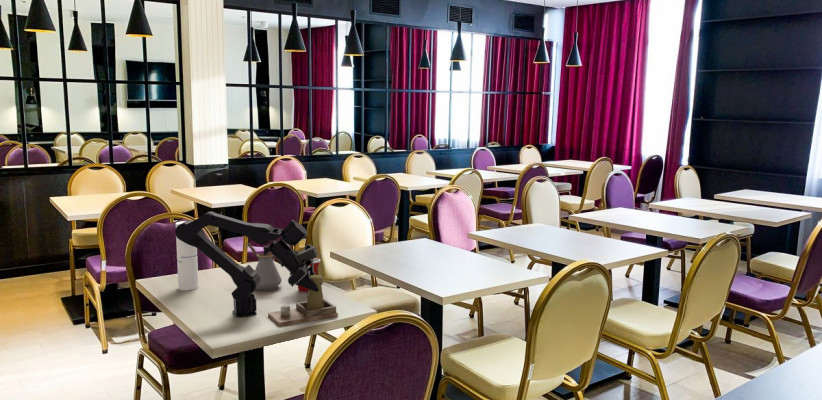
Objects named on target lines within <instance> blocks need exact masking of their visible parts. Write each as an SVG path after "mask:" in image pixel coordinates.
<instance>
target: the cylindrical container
mask: <svg viewBox="0 0 822 400" xmlns="http://www.w3.org/2000/svg"><path fill="white" fill-rule="evenodd" d="M185 221H186V220H183V221H176V223H175V228H176V227H177V226H178V225H179V224H181V223H183V222H185ZM175 238H176V239H175V240H176V243H175V244H176V260H177V262H176V263H177V283H178V284H177V286H178V290H180V291H192V290H197V289H198V288H199V272H198V271H199V265H198V248H196V247H193V246H191V245H188V244H186V243H184V242H183V241H181V240H179V239H178V238H177V237H176V236H175Z"/></svg>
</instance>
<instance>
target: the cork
mask: <svg viewBox="0 0 822 400" xmlns="http://www.w3.org/2000/svg"><path fill="white" fill-rule="evenodd" d="M310 278H311V279H312V280H313V281H314V283H315V284H316V285H317V287H318V288H319V291H318V292H316V291H313V290H310V289H309V290H308V292H307V298H306V301H307V305H306V309H307V310H314V309H320V308H324V301H323V299H324V294H323V287H322V286H323V283H324V278H323V276H322V275H320V274H317V275H311V276H310Z"/></svg>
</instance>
